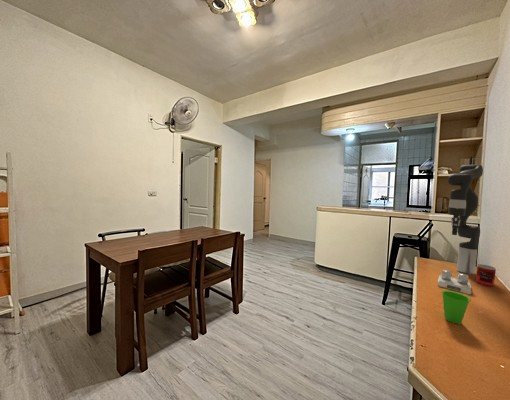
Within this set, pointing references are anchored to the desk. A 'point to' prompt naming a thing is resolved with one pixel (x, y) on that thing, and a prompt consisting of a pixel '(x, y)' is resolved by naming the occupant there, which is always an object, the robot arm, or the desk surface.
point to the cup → (454, 306)
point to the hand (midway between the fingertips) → (454, 234)
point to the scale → (454, 285)
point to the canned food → (485, 275)
